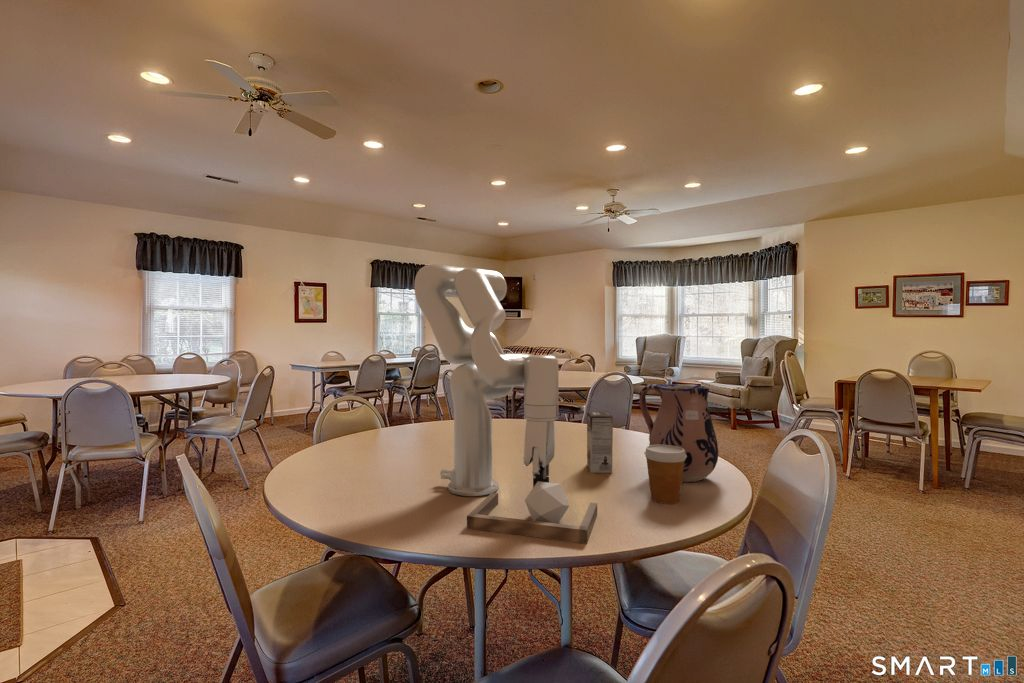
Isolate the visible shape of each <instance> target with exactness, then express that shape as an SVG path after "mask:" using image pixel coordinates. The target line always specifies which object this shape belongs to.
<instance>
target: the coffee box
mask: <svg viewBox="0 0 1024 683" xmlns="http://www.w3.org/2000/svg"><path fill="white" fill-rule="evenodd" d="M586 415H587V416H586V453H587V454H586V465H587V466H588V469H589V472H590V473H592V474H593V473H596V474H597V473H598V474H599V473H601V474H603V473H604V474H605V473H606V474H610V473H611V474H612V473H613V445H614V444H613V440H614V439H613V438H614V437H613V434H614V431H613V430H614V429H613V428H614V424H613V422H614V416H613V415H612V414H611V413H610V412H609V411H608V410H600V411H599V410H587V411H586Z"/></svg>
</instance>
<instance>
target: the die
mask: <svg viewBox="0 0 1024 683" xmlns="http://www.w3.org/2000/svg"><path fill="white" fill-rule="evenodd" d="M524 502H525V505H526V507H527V510H528V512H529V515H530V518H531V521H540V522H548V523H557V524H560V522H561V520H562V518H563V517H564V515H565V514H566V512H567V511H568V509H569V508H570V504H569V502H568V499H567V496H566V493H565V491H564V489H563V485H562V483H555V482H549V483H548V482H539V481H538V482H537V483H536V484H535V486H534V487H533V486H532V489H531V490H530V492H529V493H528V495H527V496H526V497H525V499H524Z"/></svg>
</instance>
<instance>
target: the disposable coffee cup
mask: <svg viewBox="0 0 1024 683" xmlns="http://www.w3.org/2000/svg"><path fill="white" fill-rule="evenodd" d="M644 456H645V459H646V464H647V474H648V482H649V483H648V484H649V489H650V498H651V501H654V502H656V503H659V504H663V505H664V504H666V505H667V504H668V505H673V504H677V503H679V502H680V496H681V490H682V483H683V482H682V476H683V469H684V461H685V459H686V457H687V455H686V454H685V450H684V449H683V448H681V447H678V446H672V445H650V446H649V445H647V446H646V447H645V450H644Z"/></svg>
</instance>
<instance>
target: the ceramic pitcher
mask: <svg viewBox="0 0 1024 683" xmlns="http://www.w3.org/2000/svg"><path fill="white" fill-rule="evenodd" d="M649 391H655V392H656V393H658V396H659V397H660V399H661V402H660V405H659V408H658V410H657V414H656V417H655V419H654V421H653V419H652V417H651V414H650V411H649V409H648V407H647V401H646V400H647V397H646V396H647V394H648V392H649ZM709 392H710V388H709V387H706V386H704V385H703V386H700V385H699V384H694V383H688V384H685V383H683V384H682V383H681V384H680V383H667V384H666V383H665V384H661V383H660V384H659V383H658V384H657V383H654V384H651V383H649V384H647V385H645V386H644V387H643V388H642V389H641V390H640V391H639V394H638V395H639V397H638V398H639V401H638V403H639V406H640V411H641V413H642V416H643V420H644V422H645V424H646V427H647V429H648V432H649V435H648V442H649V445H648V446H650V445H672V446H678V447H681V448H683V449H684V450H685V454H686V455H687V457H686V459H685V461H684V469H683V476H682V483H688V482H690V483H692V482H693V483H694V482H698V481H702V480H704V479H705V478H707V477H708V476H710V474H712V473H713V471H714V470H715V468H716V466H717V463H718V460H719V445H718V444H719V443H718V439H717V435H716V431H715V426H714V423H713V419H712V417H711V413H710V409H709V402H708V397H709Z"/></svg>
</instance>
